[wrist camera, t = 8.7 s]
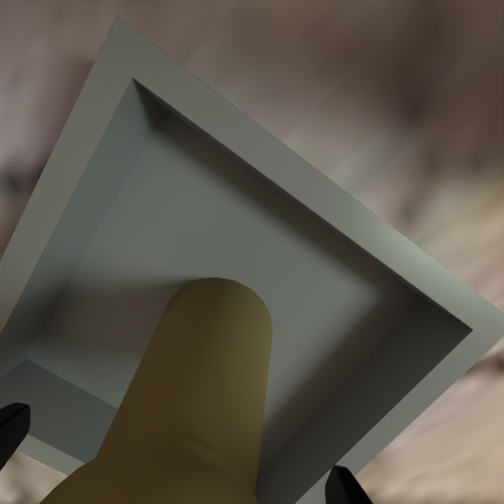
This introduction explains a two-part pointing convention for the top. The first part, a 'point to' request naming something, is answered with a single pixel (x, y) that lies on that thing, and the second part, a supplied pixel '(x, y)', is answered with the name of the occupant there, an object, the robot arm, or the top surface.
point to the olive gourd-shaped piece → (188, 408)
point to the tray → (222, 266)
